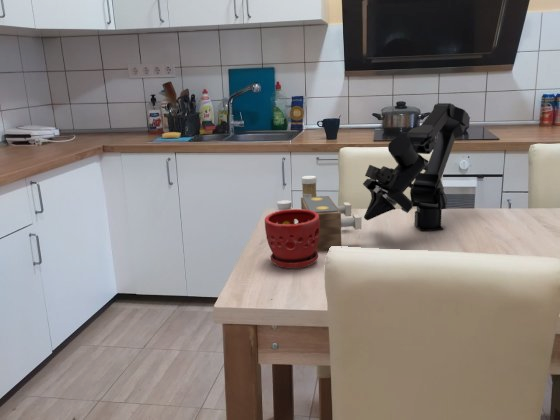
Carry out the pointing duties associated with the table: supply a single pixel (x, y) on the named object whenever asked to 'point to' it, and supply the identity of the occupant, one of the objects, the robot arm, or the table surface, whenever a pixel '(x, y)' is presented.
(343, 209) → the button
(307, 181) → the sprinkles bottle
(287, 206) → the supplement bottle
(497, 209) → the table surface
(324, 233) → the button box
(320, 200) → the card
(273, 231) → the plant pot
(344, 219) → the button
